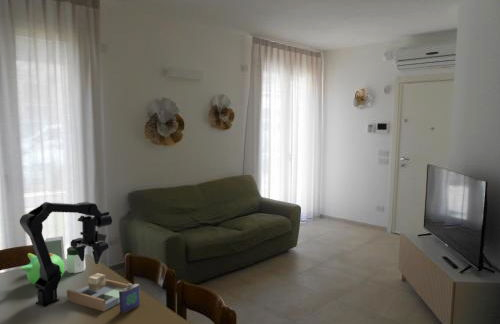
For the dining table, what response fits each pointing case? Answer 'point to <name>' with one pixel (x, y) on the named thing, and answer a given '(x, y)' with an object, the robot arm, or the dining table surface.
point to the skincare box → (56, 246)
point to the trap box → (98, 295)
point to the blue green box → (129, 298)
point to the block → (96, 281)
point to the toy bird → (34, 266)
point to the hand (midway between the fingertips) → (89, 262)
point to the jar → (74, 261)
